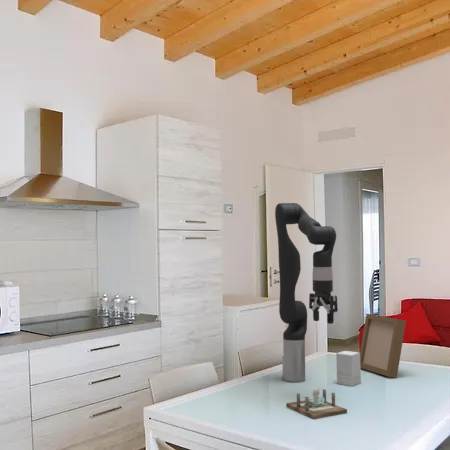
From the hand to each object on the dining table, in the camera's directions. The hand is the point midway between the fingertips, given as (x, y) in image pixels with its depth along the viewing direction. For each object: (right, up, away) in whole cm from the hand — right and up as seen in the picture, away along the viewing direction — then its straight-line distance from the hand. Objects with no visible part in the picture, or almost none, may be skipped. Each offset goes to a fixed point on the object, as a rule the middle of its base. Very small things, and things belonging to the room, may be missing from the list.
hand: (323, 322), depth 207 cm
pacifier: (-6, -26, -16) cm, 31 cm away
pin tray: (-5, -28, -16) cm, 32 cm away
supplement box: (+14, -29, +20) cm, 38 cm away
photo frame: (+35, -30, +40) cm, 61 cm away
